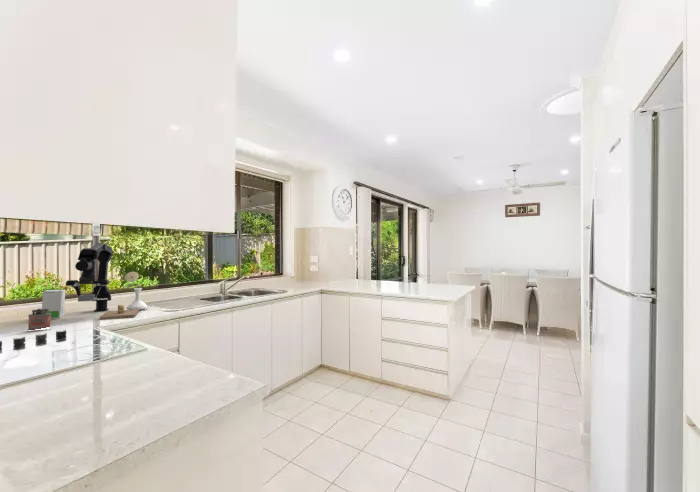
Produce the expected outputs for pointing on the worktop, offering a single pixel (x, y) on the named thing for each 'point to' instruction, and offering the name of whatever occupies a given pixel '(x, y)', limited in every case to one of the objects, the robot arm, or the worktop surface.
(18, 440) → the worktop surface
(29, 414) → the worktop surface
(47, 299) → the skincare box
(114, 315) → the keeper board
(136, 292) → the flower in vase
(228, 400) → the worktop surface
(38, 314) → the lighter
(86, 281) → the robot arm
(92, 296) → the steel link
